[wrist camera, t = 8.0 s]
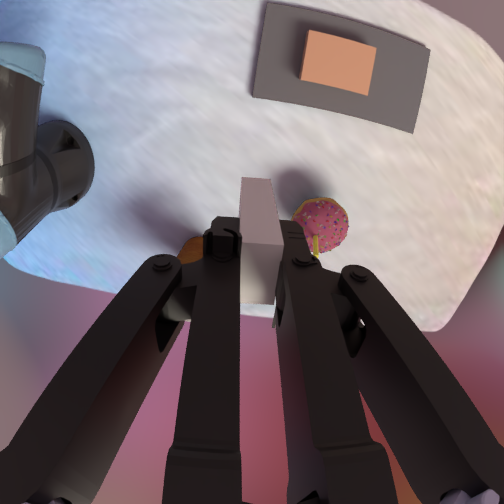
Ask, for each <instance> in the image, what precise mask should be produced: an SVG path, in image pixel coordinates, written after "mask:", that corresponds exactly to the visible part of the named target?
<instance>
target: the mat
mask: <svg viewBox="0 0 504 504" xmlns="http://www.w3.org/2000/svg"><path fill="white" fill-rule="evenodd" d="M309 30H312V31H317V32H321V33H326V34H330V35H334V36H338V37H341V38H345V39H349V40H352V41H356V42H359V43H362V44H366V45H369V46H372V47H375V48H377V49H376V55H375V60H374V66H373V71H372V76H371V81H370V86H369V91H368V96H367V95H362V94H359V93H355V92H351V91H348V90H344V89H340V88H335V87H331V86H327V85H323V84H318V83H313V82H308V81H303V80H299V74H300V68H301V62H302V56H303V51H304V45H305V39H306V33H307V31H309ZM429 56H430V49H428V48H426V47H423V46H421V45H419V44H416V43H414V42H412V41H409V40H407V39H404V38H402V37H399V36H396V35H394V34H391V33H388V32H386V31H383V30H380V29H377V28H374V27H371V26H368V25H365V24H362V23H358V22H355V21H352V20H348V19H344V18H341V17H337V16H333V15H329V14H325V13H321V12H317V11H312V10H307V9H302V8H297V7H292V6H286V5H280V4H273V3H267V8H266V14H265V20H264V26H263V32H262V38H261V44H260V51H259V57H258V63H257V70H256V76H255V83H254V90H253V96H252V97H254V98H261V99H268V100H275V101H281V102H287V103H292V104H298V105H303V106H308V107H313V108H318V109H323V110H328V111H332V112H337V113H341V114H345V115H349V116H353V117H357V118H361V119H365V120H368V121H372V122H376V123H379V124H383V125H386V126H390V127H393V128H396V129H399V130H403V131H406V132H409V133H412V134H413V132H414V128H415V124H416V119H417V115H418V111H419V107H420V102H421V98H422V93H423V88H424V83H425V78H426V73H427V67H428V62H429Z"/></svg>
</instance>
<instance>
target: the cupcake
mask: <svg viewBox="0 0 504 504" xmlns="http://www.w3.org/2000/svg"><path fill="white" fill-rule="evenodd" d="M291 221H296V222H298V223H299V224H300V225H301V226H302V228H303V231H304V234H305V237H306V240H307V243H308V246H309V249H310V252H313V255H314V256H315V257H317V258H318V257H319V255H318V253H319V252H320V253H321V252H323V253H324V252H325V251H326V252H327V251H331V249H333V248H335V247H337V246H339V245H340V243H341V242H342V241H343V240H344V239H345V237H346V236H347V231H348V227H349V225H348V216H347V213H346V211H345V210H344V209H343V208H342V207H341V206H340V205H339V204H338V203H337V202H336V201H335V200H333V199H331V198H314V199H309V200H306V201H304V202H303V203H302V205H301V206H300V207H299V208H298V209H297V210H296V212H295V213H294V214H293V216H292V219H291Z"/></svg>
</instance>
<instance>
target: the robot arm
mask: <svg viewBox="0 0 504 504" xmlns="http://www.w3.org/2000/svg"><path fill="white" fill-rule="evenodd" d="M45 62H46V55H45V53H44V51H43V50H42V49H41V48H40V47H38V46H34V45H29V44H23V43H14V42H0V259H1V258H2V257H4V256H5V255H6V254H7V253H8V252H9V251H12V250H13V249H14V248H15V247H16V245H17V244H18V243H19V242H20V241H21V240H22V239H23V238H24V237H25V236H26V235H27V234H28V233H29V232H30V231H31V230H32V229H33V228H34V227H35V226H36V225H37V224H38V223H39V222H40V221H41V220H42V219H43V218H44V217H45V216H46V215H48V214H49V213H51V212H55V211H59V210H62V209H66V208H69V207H71V206H73V205H74V204H76V203H77V202H78V201H79V200H80V199H81V198H83V197H84V196H85V194H86V193H87V192H88V190H89V189H90V187H91V184H92V181H93V177H94V169H95V167H94V157H93V153H92V149H91V147H90V144H89V142H88V141H87V139H86V137H85V136H84V135H83V133H82V132H81V131H80V130H79V129H78V128H77V127H75V126H74V125H72V124H70V123H68V122H65V121H60V120H55V121H50V122H47V123H44V124H42V125H39V126H38V118H39V109H40V100H41V93H42V86H44V80H43V77H44V69H45ZM275 296H276V308H275V314H274V319H273V324H272V328H275V324H276V334H277V345H278V355H279V365H280V375H281V387H282V398H283V410H284V421H285V432H286V445H287V456H288V469H289V482H288V487H287V504H398V500H397V495H396V490H395V485H394V481H393V476H392V472H391V467H390V463H389V459H388V455H387V452H386V450H385V448H384V447H383V446H382V444H380V443H378V442H375V441H373V440H372V438H371V436H370V433H369V429H368V425H367V421H366V417H365V413H364V409H363V405H362V401H361V397H360V393H359V390H360V392H361V394H362V396H363V398H364V400H365V401H366V403H367V405H368V407H369V409H370V411H371V412H372V414H373V416H374V418H375V420H376V422H377V423H378V425H379V427H380V429H381V431H382V433H383V435H384V437H385V438H386V440H387V442H388V444H389V446H390V448H391V449H392V451H393V453H394V455H395V457H396V459H397V461H398V463H399V465H400V467H401V469H402V471H403V472H404V474H405V476H406V478H407V480H408V482H409V484H410V486H411V488H412V489H413V491H414V493H415V494H416V496H417V498H418V499H419V500H420V501H421V503H422V504H504V448H503V446H501V445H500V444H499V443H498V441H497V440H496V438H495V436H494V435H493V433H492V432H491V430H490V428H489V427H488V425H487V424H486V422H485V421H484V419H483V417H482V416H481V415H480V413H479V411H478V410H477V408H476V407H475V405H474V404H473V402H472V401H471V399H470V398H469V397H468V395H467V394H466V392H465V391H464V389H463V388H462V386H460V384H459V382H458V381H457V379H456V378H455V377H454V375H453V374H452V373H451V371H450V370H449V368H448V367H447V365H446V364H445V363H444V361H443V360H442V359H441V357H440V356H439V355H438V353H437V352H436V351H435V349H434V348H433V347H432V345H431V344H430V343H429V341H428V340H427V339H426V338H425V336H424V335H423V334H422V332H421V331H420V330H419V328H418V327H417V326H416V325H415V323H414V322H413V321H412V320H411V318H410V317H409V316H408V315H407V313H406V312H405V311H404V310H403V308H402V307H401V306H400V305H399V303H398V302H397V301H396V300H395V299H394V297H393V296H392V295H391V294H390V293H389V291H388V290H387V289H386V288H385V287H384V285H383V284H382V283H381V282H380V281H379V279H378V278H377V277H376V276H375V275H374V274H373V273H372V272H371V271H370V270H369V269H367V268H365V267H363V266H359V265H348V266H345V267H344V268H343V269H342V271H341V273H337V272H333V271H330V270H327V269H324V268H322V266H321V263H320V261H319V260H318V258H317V257H315V256H314V255H312V254H311V252H310V249H309V246H308V243H307V240H306V237H305V234H304V231H303V228H302V226H301V225H300V224H299V223H298V222H296V221H289V220H279V218H278V213H277V208H276V203H275V199H274V194H273V189H272V185H271V180H270V179H261V178H248V177H242V181H241V193H240V206H239V218H236V217H221V216H217V217H216V218H215V219H214V220H213V221H212V223H211V228H210V229H208V230H206V231H205V232H204V234H203V257H202V258H201V259H199V260H197V261H195V262H191V263H186V264H181V262H180V260H179V259H178V258H177V257H175V256H173V255H169V254H159V255H155V256H152V257H150V258H148V259H147V260H146V261H145V262H144V263H143V264H142V265H141V266H140V267H139V269H138V270H137V271H136V272H135V273H134V275H133V276H132V277H131V278H130V279H129V280H128V282H127V283H126V284H125V285H124V286H123V288H122V289H121V290H120V291H119V292H118V294H117V295H116V296H115V297H114V299H113V300H112V301H111V302H110V304H109V305H108V306H107V307H106V309H105V310H104V311H103V312H102V313H101V315H100V316H99V317H98V319H97V320H96V321H95V322H94V324H93V325H92V326H91V328H90V329H89V330H88V331H87V333H86V334H85V335H84V336H83V338H82V339H81V340H80V342H79V343H78V344H77V346H76V347H75V348H74V350H73V351H72V353H71V354H70V355H69V356H68V358H67V359H66V361H65V362H64V363H63V365H62V366H61V367H60V369H59V370H58V371H57V373H56V374H55V376H54V377H53V379H52V380H51V382H50V383H49V384H48V386H47V387H46V388H45V390H44V391H43V393H42V394H41V396H40V397H39V399H38V400H37V402H36V403H35V405H34V406H33V408H32V409H31V411H30V412H29V414H28V415H27V417H26V418H25V420H24V421H23V423H22V425H21V426H20V428H19V429H18V431H17V432H16V434H15V436H14V437H13V439H12V440H11V442H10V444H9V445H8V446H7V447H6V448H5V449H3V450H2V451H1V452H0V504H91V503H92V501H93V499H94V498H95V496H96V494H97V492H98V491H99V489H100V487H101V485H102V483H103V481H104V478H105V476H106V475H107V473H108V470H109V468H110V466H111V464H112V462H113V460H114V458H115V456H116V454H117V452H118V450H119V448H120V446H121V444H122V442H123V440H124V438H125V436H126V434H127V432H128V430H129V428H130V426H131V424H132V422H133V421H134V419H135V417H136V415H137V413H138V411H139V409H140V407H141V405H142V403H143V401H144V399H145V397H146V395H147V393H148V391H149V389H150V388H151V386H152V384H153V382H154V380H155V378H156V376H157V374H158V372H159V370H160V368H161V367H162V364H163V363H164V361H165V359H166V357H167V355H168V353H169V351H170V349H171V348H172V346H173V344H174V342H175V340H176V338H177V336H178V335H179V333H180V331H181V329H182V327H183V325H184V322H185V320H188V319H191V323H190V329H189V336H188V342H187V348H186V354H185V360H184V367H183V374H182V380H181V387H180V395H179V402H178V409H177V417H176V425H175V433H174V441H173V444H172V446H171V447H170V448H169V452H168V455H167V461H166V469H165V477H164V487H163V497H162V504H250V503H247V502H242V481H241V480H242V476H241V474H242V472H241V453H240V443H239V442H240V441H239V440H240V438H239V437H240V436H239V434H240V432H239V431H240V428H239V427H240V426H239V425H240V424H239V422H240V418H239V416H240V415H239V414H240V413H239V412H240V410H239V405H240V403H239V402H240V400H239V398H240V397H239V396H240V394H239V393H240V387H239V386H240V381H239V380H240V378H239V377H240V303H249V304H269V305H274V301H275ZM361 319H362V321H363V322H364V324H365V326H364V325H363V324H362V323H361V321H360V320H361Z"/></svg>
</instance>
